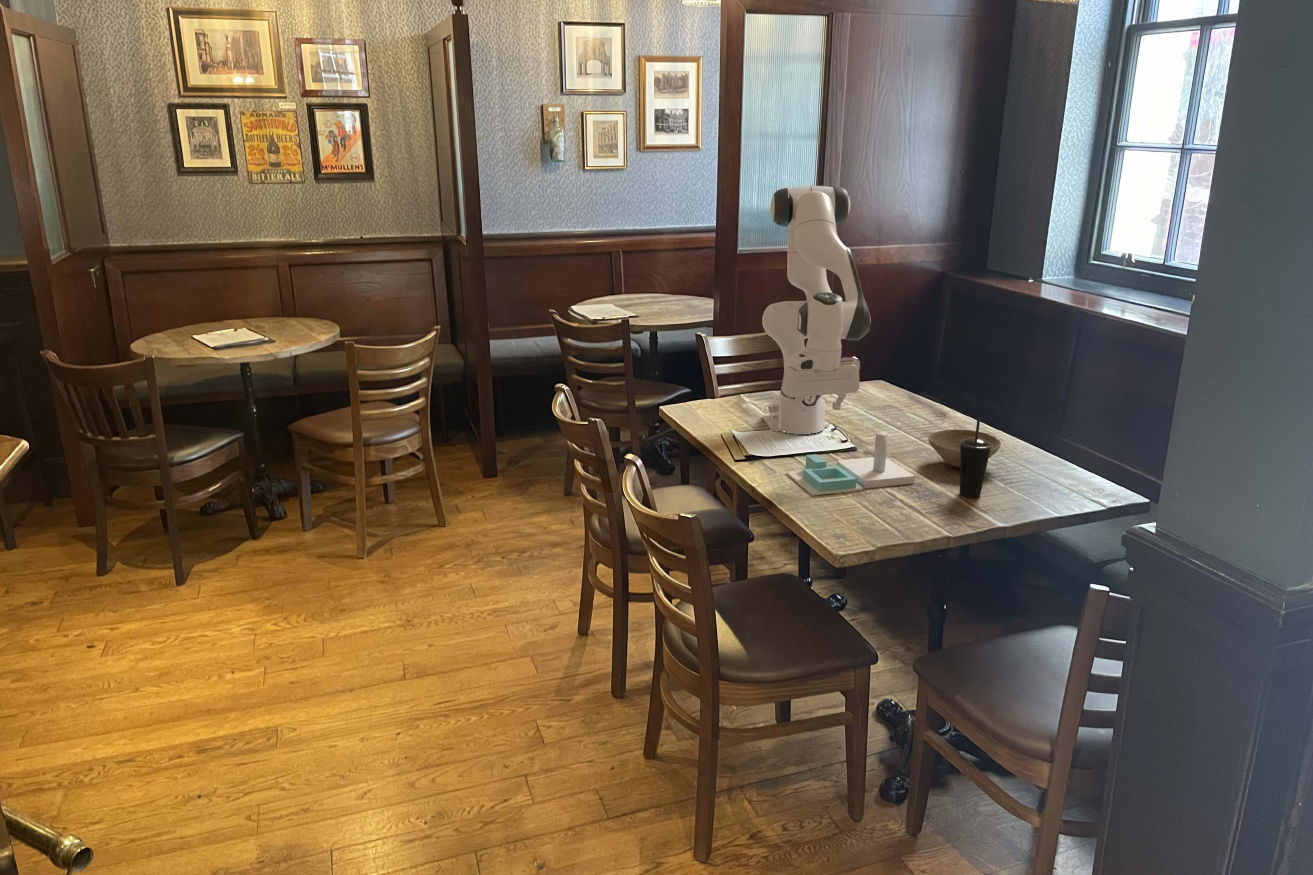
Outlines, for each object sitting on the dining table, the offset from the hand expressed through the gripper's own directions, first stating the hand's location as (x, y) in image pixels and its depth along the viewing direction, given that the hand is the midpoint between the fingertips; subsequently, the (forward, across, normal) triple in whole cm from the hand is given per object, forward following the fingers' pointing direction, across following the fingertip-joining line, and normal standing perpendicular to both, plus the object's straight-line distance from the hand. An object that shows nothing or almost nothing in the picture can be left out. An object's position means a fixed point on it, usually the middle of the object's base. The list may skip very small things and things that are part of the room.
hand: (819, 410), depth 236 cm
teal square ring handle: (+17, 0, +5) cm, 18 cm away
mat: (+17, 0, +6) cm, 18 cm away
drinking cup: (+17, -31, +24) cm, 43 cm away
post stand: (+18, -15, +5) cm, 23 cm away
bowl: (+18, -41, +5) cm, 45 cm away
